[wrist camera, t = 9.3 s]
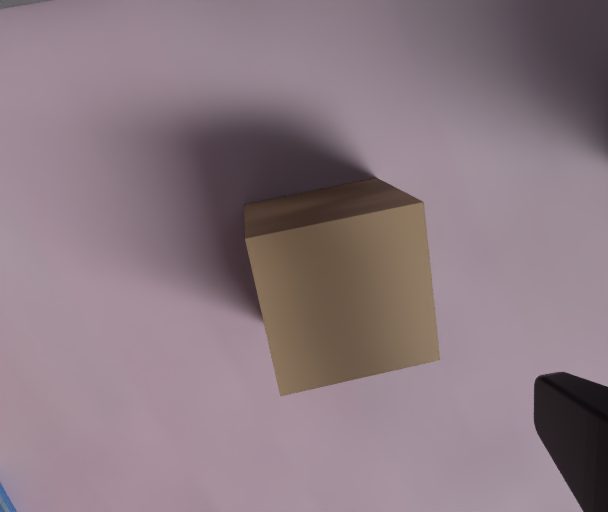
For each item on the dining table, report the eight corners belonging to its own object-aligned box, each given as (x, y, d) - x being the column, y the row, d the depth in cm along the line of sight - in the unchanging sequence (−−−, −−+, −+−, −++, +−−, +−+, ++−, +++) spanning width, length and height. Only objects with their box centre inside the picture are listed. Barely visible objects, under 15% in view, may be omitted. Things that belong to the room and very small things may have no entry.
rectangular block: (376, 177, 18) (423, 202, 13) (392, 298, 20) (439, 359, 15) (244, 204, 18) (244, 238, 13) (271, 325, 19) (280, 396, 15)
